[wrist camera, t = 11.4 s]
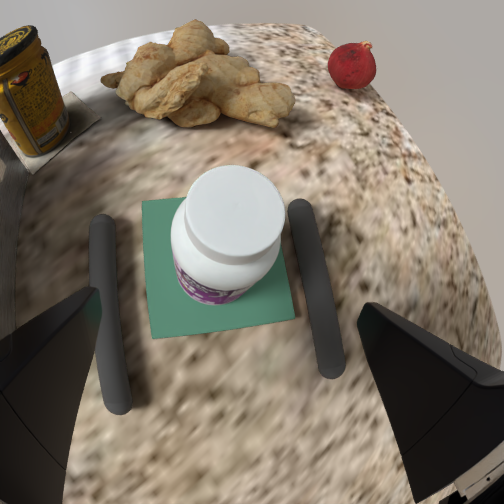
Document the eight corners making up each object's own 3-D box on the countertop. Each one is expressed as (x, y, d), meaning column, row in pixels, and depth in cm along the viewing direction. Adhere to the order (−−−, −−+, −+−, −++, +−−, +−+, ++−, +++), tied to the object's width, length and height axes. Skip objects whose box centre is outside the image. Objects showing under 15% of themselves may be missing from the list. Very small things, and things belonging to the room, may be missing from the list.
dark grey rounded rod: (339, 374, 20) (352, 375, 18) (316, 381, 19) (328, 383, 18) (304, 205, 24) (313, 193, 22) (281, 206, 23) (289, 194, 21)
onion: (337, 103, 30) (368, 55, 22) (310, 73, 31) (333, 26, 23) (367, 100, 31) (397, 58, 24) (341, 72, 32) (366, 30, 25)
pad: (292, 319, 21) (295, 318, 20) (153, 338, 18) (152, 338, 18) (267, 195, 23) (269, 192, 23) (142, 204, 21) (141, 201, 20)
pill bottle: (159, 265, 19) (137, 199, 10) (214, 218, 21) (236, 131, 12) (213, 323, 19) (236, 305, 10) (266, 271, 21) (326, 214, 12)
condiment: (10, 140, 20) (-33, 59, 9) (71, 92, 23) (49, 4, 12) (33, 176, 19) (-25, 83, 8) (102, 119, 23) (80, 15, 11)
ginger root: (97, 66, 23) (108, 6, 16) (222, 65, 31) (249, 18, 25) (109, 175, 20) (116, 100, 14) (269, 157, 28) (314, 106, 22)
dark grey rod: (137, 410, 16) (132, 417, 14) (110, 411, 16) (103, 418, 14) (118, 219, 20) (112, 207, 18) (94, 222, 20) (86, 211, 18)
